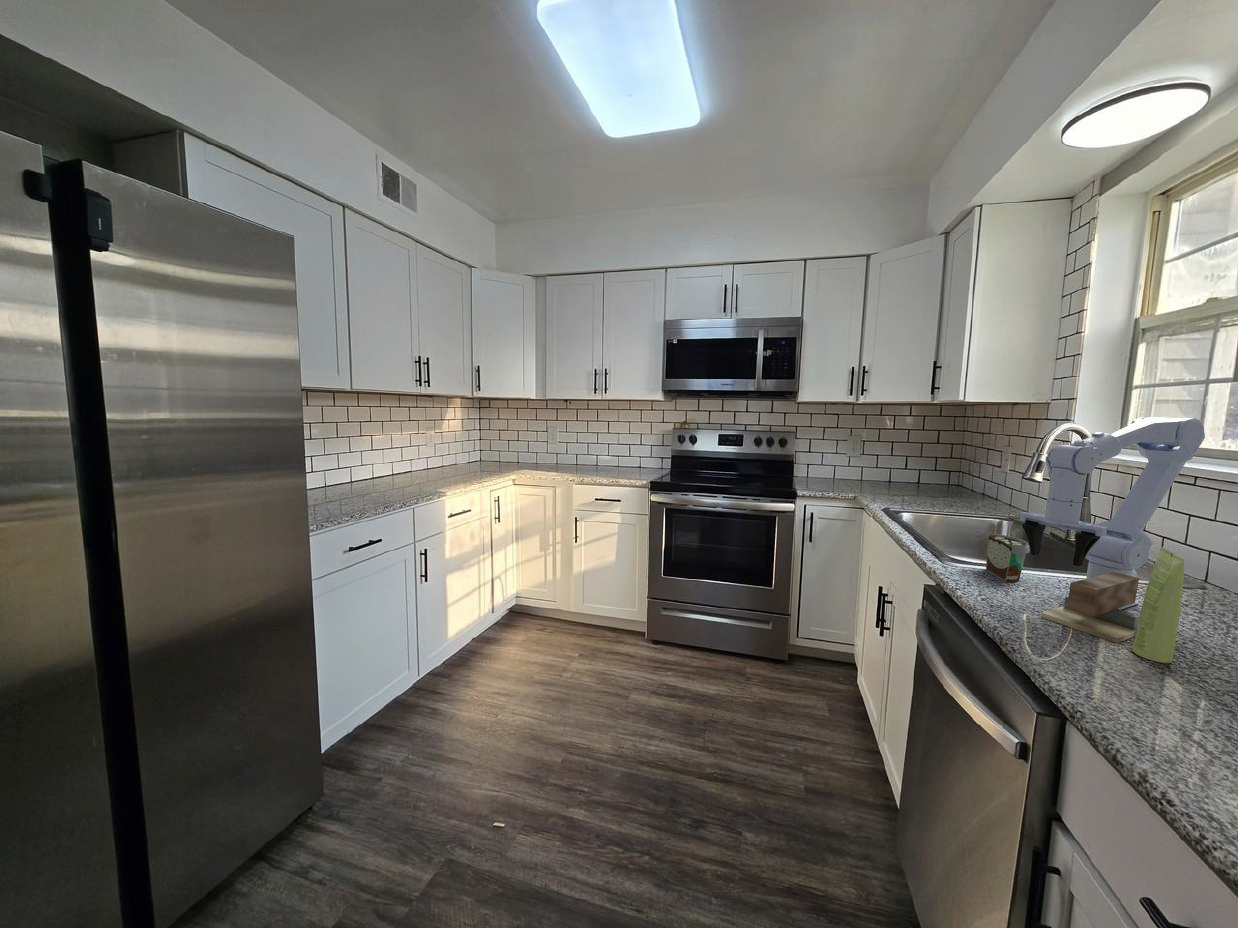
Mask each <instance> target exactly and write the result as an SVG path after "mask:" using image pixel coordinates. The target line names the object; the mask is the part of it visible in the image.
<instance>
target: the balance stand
mask: <svg viewBox="0 0 1238 928" xmlns="http://www.w3.org/2000/svg"><path fill="white" fill-rule="evenodd" d="M1068 597H1069V595H1067V596H1065V599H1064V603H1063V605H1062V606H1060V607H1056V608H1052V609H1049V610H1045V611H1042V612H1041V613H1040V617H1041V618H1043V619H1046V620H1049V621H1051V622H1054V623H1057V624H1060V625H1064V626H1066V627H1068V628H1072V629H1074V630H1077V631H1080V632H1083V633H1086V634H1090V635H1092V636H1095V637H1098V638H1101V639H1105V640H1106V641H1110V642H1113V643H1115V644H1118V643H1121V642H1124V641H1127V640H1129V639H1132V638H1135V633H1136V629H1137V624H1138V620H1139V616H1140V614H1136V613H1133V612H1130V611H1126V610H1124V609H1121V610H1120V609H1115V610H1112V611H1109V612H1106V613H1103V614H1100V615H1097V616H1093V617H1091V616H1088V615H1085V614H1082V613H1078V612H1075V611H1072V610H1069V609H1067V604H1068Z"/></svg>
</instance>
